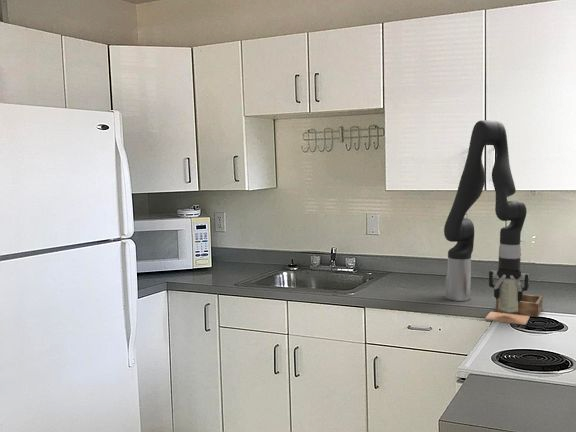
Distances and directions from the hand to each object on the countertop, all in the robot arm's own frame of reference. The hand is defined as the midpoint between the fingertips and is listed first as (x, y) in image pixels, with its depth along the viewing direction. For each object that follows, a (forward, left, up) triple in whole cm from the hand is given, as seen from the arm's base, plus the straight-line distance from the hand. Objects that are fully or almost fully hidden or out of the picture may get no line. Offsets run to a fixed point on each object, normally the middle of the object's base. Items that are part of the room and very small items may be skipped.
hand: (508, 299), depth 229 cm
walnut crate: (+2, +13, -7) cm, 15 cm away
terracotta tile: (0, 0, -7) cm, 7 cm away
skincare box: (0, 0, -4) cm, 4 cm away
